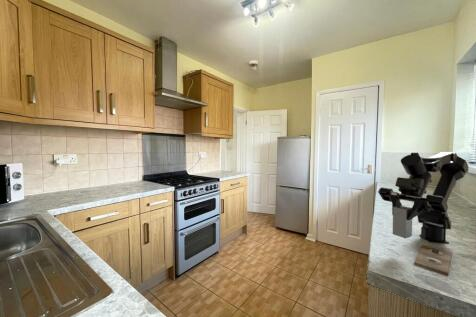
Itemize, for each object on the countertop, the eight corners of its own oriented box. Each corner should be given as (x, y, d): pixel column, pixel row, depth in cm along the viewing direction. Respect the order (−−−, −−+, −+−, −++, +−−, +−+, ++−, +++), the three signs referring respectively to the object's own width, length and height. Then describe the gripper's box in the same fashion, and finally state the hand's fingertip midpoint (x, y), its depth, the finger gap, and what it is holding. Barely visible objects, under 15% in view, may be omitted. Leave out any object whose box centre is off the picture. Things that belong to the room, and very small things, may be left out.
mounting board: (422, 246, 75) (422, 240, 75) (451, 254, 69) (452, 247, 69) (414, 264, 64) (414, 257, 64) (448, 275, 58) (448, 267, 58)
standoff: (398, 231, 72) (399, 205, 72) (411, 236, 69) (412, 208, 68) (392, 234, 71) (393, 206, 70) (405, 238, 67) (406, 209, 67)
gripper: (381, 167, 79) (363, 197, 74) (445, 171, 62) (427, 211, 58) (391, 185, 83) (375, 214, 78) (454, 193, 66) (439, 232, 61)
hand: (400, 217), depth 69 cm, fingers closed on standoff, 4 cm apart
